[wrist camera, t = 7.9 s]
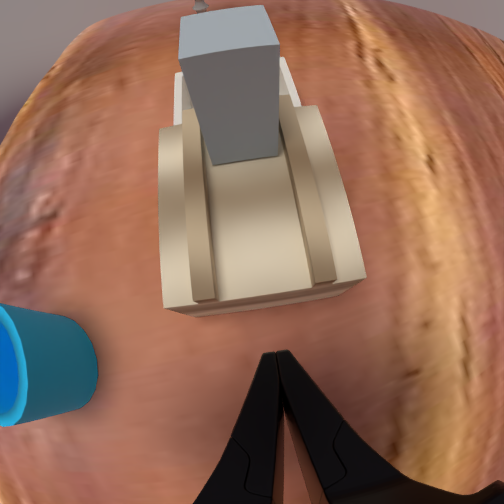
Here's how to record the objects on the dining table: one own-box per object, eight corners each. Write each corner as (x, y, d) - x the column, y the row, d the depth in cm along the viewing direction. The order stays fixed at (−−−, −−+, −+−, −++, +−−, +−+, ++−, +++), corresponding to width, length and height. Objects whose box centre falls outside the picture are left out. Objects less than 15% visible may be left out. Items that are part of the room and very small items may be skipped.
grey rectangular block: (277, 155, 16) (279, 44, 9) (212, 165, 16) (178, 59, 9) (267, 108, 17) (263, 4, 10) (208, 117, 17) (180, 17, 10)
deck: (338, 295, 20) (374, 272, 13) (195, 317, 20) (154, 305, 13) (307, 159, 23) (318, 92, 16) (184, 177, 24) (153, 117, 16)
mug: (102, 324, 21) (31, 313, 13) (97, 422, 19) (32, 446, 11) (9, 301, 22) (-53, 285, 14) (5, 381, 19) (-56, 382, 12)
